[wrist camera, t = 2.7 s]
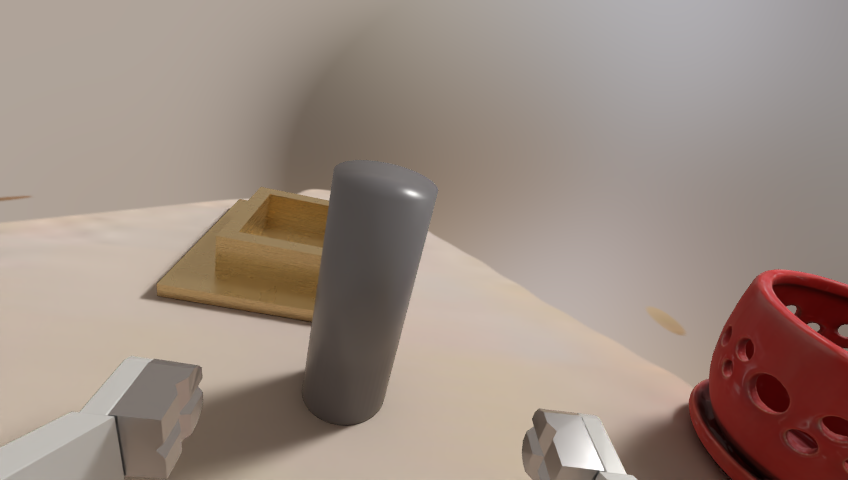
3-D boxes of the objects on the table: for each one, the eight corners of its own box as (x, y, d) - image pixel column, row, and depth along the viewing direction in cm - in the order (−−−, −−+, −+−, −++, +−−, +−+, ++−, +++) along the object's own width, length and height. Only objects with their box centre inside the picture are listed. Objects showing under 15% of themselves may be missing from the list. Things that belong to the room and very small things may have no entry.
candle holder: (157, 295, 30) (155, 246, 29) (239, 207, 45) (240, 171, 43) (382, 333, 32) (392, 289, 31) (391, 237, 47) (399, 204, 45)
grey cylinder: (293, 418, 24) (324, 185, 18) (311, 356, 29) (342, 153, 23) (381, 430, 25) (440, 209, 19) (386, 368, 29) (435, 173, 23)
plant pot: (640, 376, 35) (717, 247, 30) (794, 413, 35) (897, 292, 30) (730, 548, 23) (882, 386, 18) (959, 601, 24) (1174, 457, 18)
